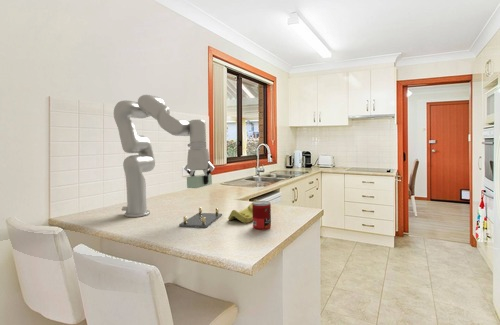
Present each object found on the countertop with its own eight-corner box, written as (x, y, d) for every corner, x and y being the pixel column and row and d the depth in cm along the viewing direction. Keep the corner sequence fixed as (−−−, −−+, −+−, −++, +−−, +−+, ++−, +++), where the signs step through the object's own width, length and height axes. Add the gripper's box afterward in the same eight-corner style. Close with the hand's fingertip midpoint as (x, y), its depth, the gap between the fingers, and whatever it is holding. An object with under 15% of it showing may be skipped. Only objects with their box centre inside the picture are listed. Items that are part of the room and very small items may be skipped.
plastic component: (247, 219, 134) (231, 208, 138) (242, 232, 136) (226, 220, 141) (269, 207, 150) (254, 197, 154) (264, 219, 152) (249, 209, 157)
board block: (187, 188, 135) (186, 177, 135) (203, 183, 148) (202, 174, 148) (196, 188, 133) (196, 177, 133) (211, 184, 146) (211, 174, 146)
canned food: (268, 230, 123) (267, 204, 122) (250, 229, 126) (249, 203, 125) (273, 225, 130) (272, 201, 130) (256, 224, 133) (255, 200, 132)
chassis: (179, 226, 132) (178, 217, 132) (198, 214, 154) (198, 207, 154) (206, 227, 129) (206, 218, 129) (222, 215, 151) (221, 207, 151)
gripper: (177, 146, 138) (179, 185, 139) (212, 145, 134) (214, 185, 135) (185, 146, 145) (186, 183, 146) (218, 145, 141) (219, 183, 142)
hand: (199, 183), depth 141 cm, fingers closed on board block, 5 cm apart
